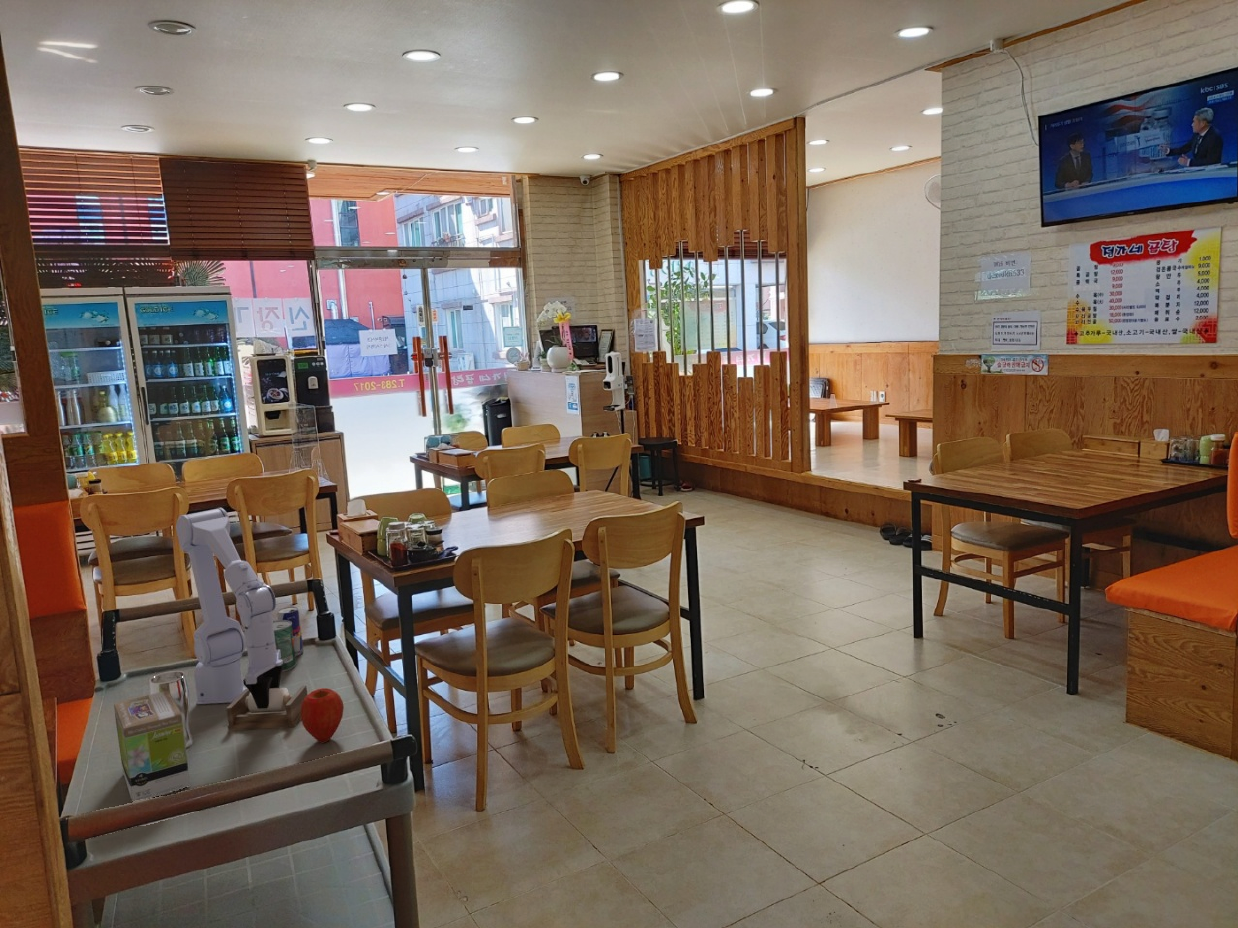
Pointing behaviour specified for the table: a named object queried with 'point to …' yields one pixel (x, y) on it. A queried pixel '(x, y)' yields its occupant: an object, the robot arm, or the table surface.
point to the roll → (271, 701)
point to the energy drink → (293, 626)
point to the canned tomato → (285, 643)
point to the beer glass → (175, 695)
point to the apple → (322, 713)
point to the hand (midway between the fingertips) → (268, 702)
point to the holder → (246, 720)
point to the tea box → (152, 745)
